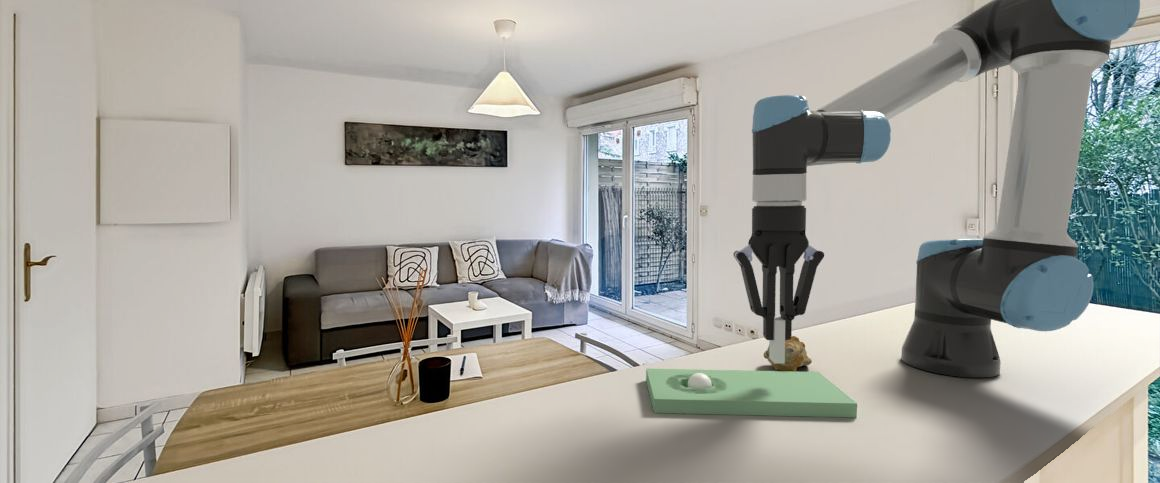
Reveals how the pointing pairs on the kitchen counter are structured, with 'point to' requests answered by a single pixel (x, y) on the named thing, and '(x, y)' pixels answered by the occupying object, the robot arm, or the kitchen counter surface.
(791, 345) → the seashell
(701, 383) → the ball
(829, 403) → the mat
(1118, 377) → the kitchen counter surface
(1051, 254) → the robot arm
